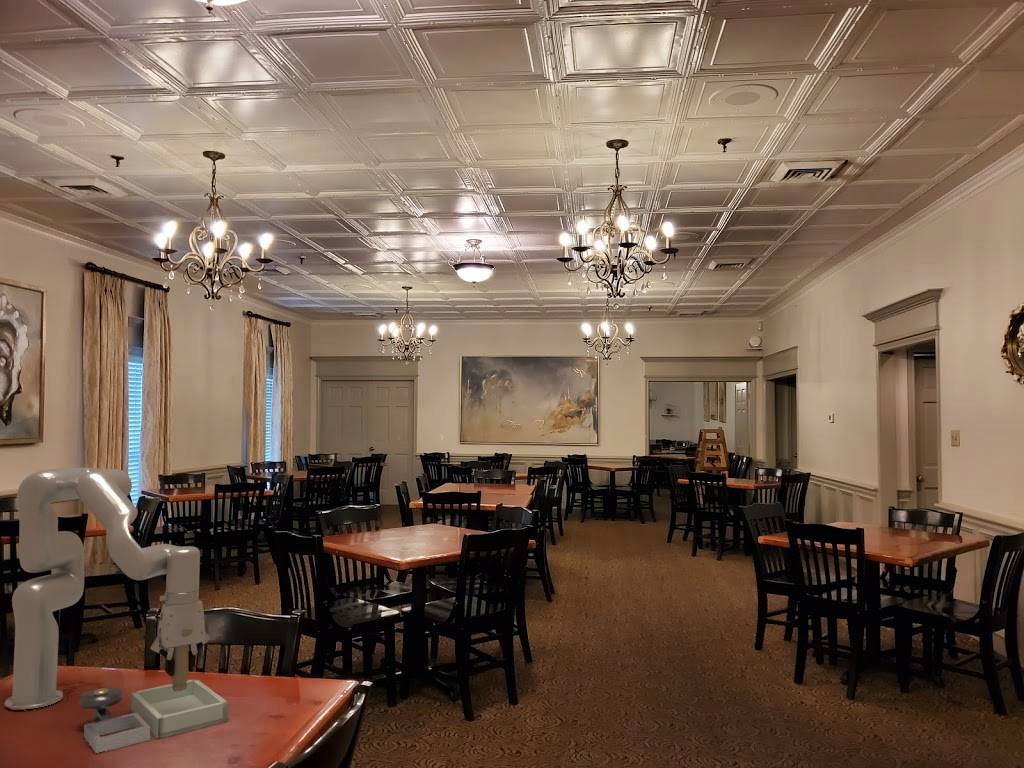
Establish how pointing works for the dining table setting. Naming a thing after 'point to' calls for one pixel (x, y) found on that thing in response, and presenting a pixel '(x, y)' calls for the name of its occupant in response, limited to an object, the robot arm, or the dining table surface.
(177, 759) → the dining table surface
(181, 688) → the handle
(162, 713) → the tray
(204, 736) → the dining table surface
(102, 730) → the bracket
